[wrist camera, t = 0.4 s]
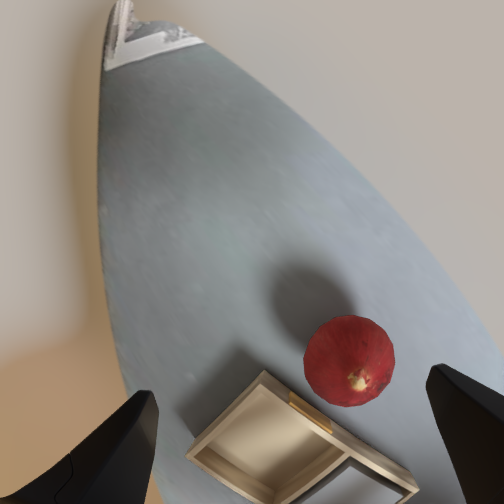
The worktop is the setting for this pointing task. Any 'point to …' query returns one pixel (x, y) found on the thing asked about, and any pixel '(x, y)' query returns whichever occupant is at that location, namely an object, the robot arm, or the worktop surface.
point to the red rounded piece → (349, 361)
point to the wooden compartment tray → (294, 453)
